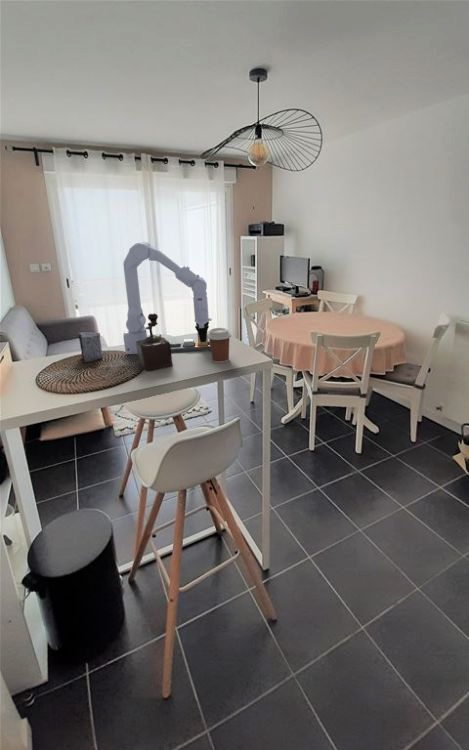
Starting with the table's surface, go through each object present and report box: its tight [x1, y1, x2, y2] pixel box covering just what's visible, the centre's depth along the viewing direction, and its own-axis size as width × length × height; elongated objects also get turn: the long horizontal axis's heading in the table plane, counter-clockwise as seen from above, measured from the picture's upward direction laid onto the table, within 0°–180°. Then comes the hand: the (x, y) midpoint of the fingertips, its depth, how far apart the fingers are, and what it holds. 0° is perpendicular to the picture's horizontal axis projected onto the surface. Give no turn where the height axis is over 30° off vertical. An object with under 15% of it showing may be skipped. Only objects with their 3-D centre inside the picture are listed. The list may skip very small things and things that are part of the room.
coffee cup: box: [207, 327, 232, 364], centre depth 136 cm, size 9×9×12 cm
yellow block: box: [197, 332, 209, 346], centre depth 152 cm, size 4×4×7 cm
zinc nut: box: [183, 338, 195, 347], centre depth 153 cm, size 4×4×4 cm
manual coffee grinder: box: [136, 312, 174, 372], centre depth 136 cm, size 16×11×18 cm
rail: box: [170, 340, 211, 353], centre depth 153 cm, size 20×7×2 cm, turn 93°
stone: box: [77, 331, 105, 363], centre depth 145 cm, size 12×10×10 cm
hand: (203, 340), depth 152 cm, fingers closed on yellow block, 4 cm apart
